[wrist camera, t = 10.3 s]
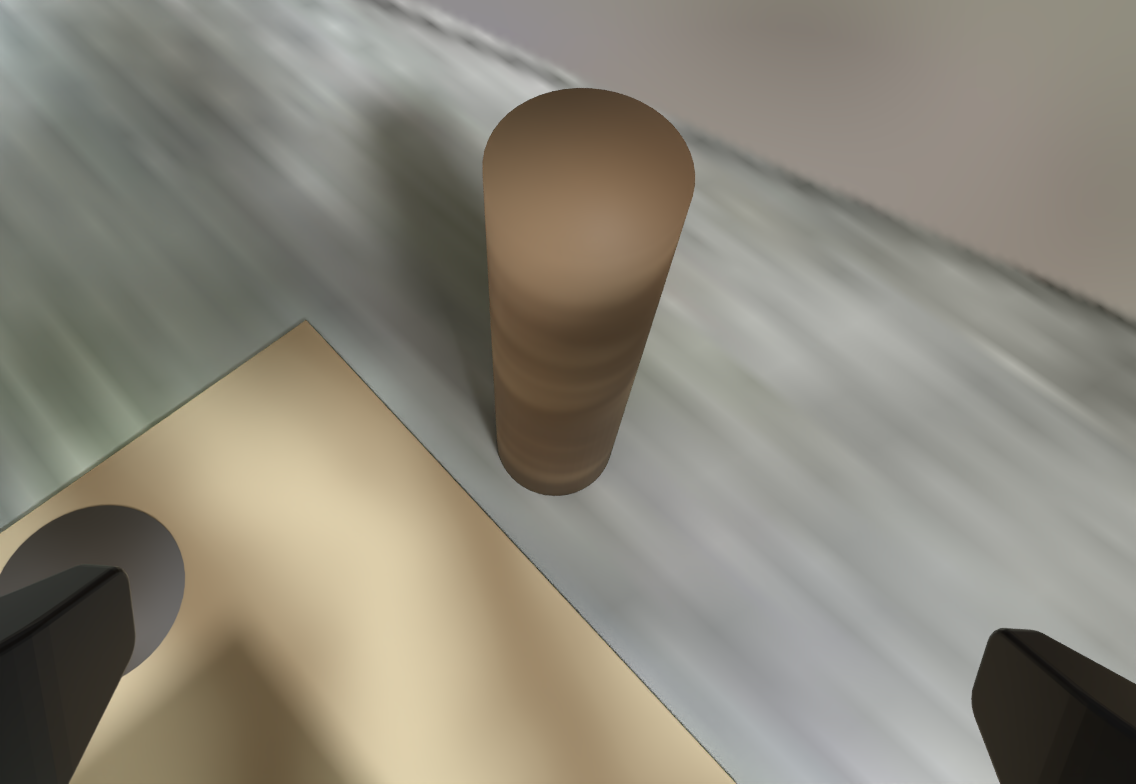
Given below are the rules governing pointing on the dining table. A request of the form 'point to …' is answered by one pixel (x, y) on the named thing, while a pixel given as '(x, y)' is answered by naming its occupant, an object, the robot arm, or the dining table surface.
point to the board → (333, 607)
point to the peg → (576, 272)
